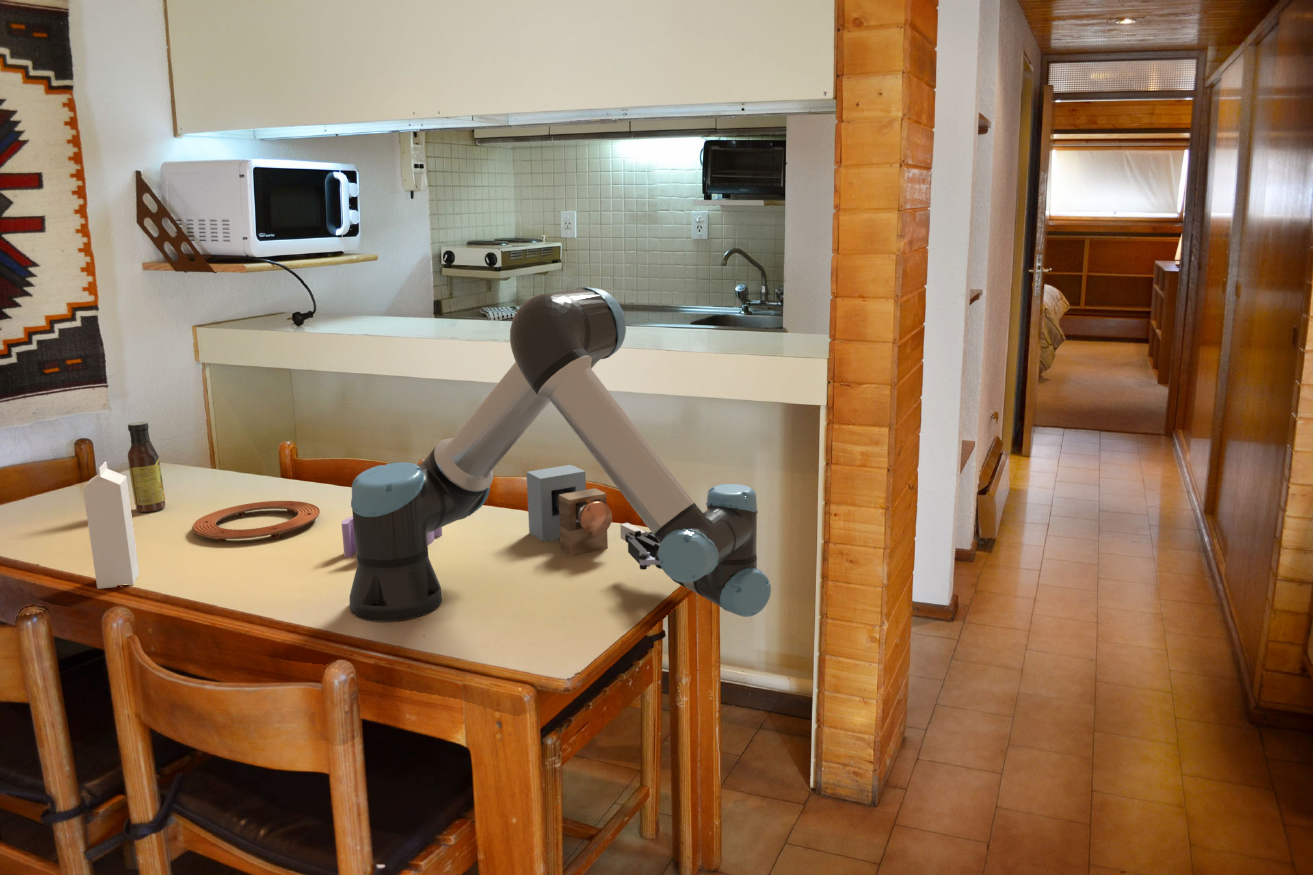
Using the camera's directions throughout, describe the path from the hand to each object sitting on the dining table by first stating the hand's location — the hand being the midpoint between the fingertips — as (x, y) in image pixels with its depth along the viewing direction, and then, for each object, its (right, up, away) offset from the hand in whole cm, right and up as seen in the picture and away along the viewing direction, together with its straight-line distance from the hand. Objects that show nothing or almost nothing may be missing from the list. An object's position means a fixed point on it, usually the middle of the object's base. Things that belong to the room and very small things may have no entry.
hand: (624, 530), depth 188 cm
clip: (-47, -5, +19) cm, 51 cm away
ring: (-79, -2, +32) cm, 85 cm away
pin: (-10, 0, +16) cm, 19 cm away
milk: (-92, -10, +1) cm, 93 cm away
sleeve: (-8, -5, +15) cm, 18 cm away
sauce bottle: (-108, 0, +46) cm, 117 cm away
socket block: (-14, -3, +24) cm, 28 cm away
